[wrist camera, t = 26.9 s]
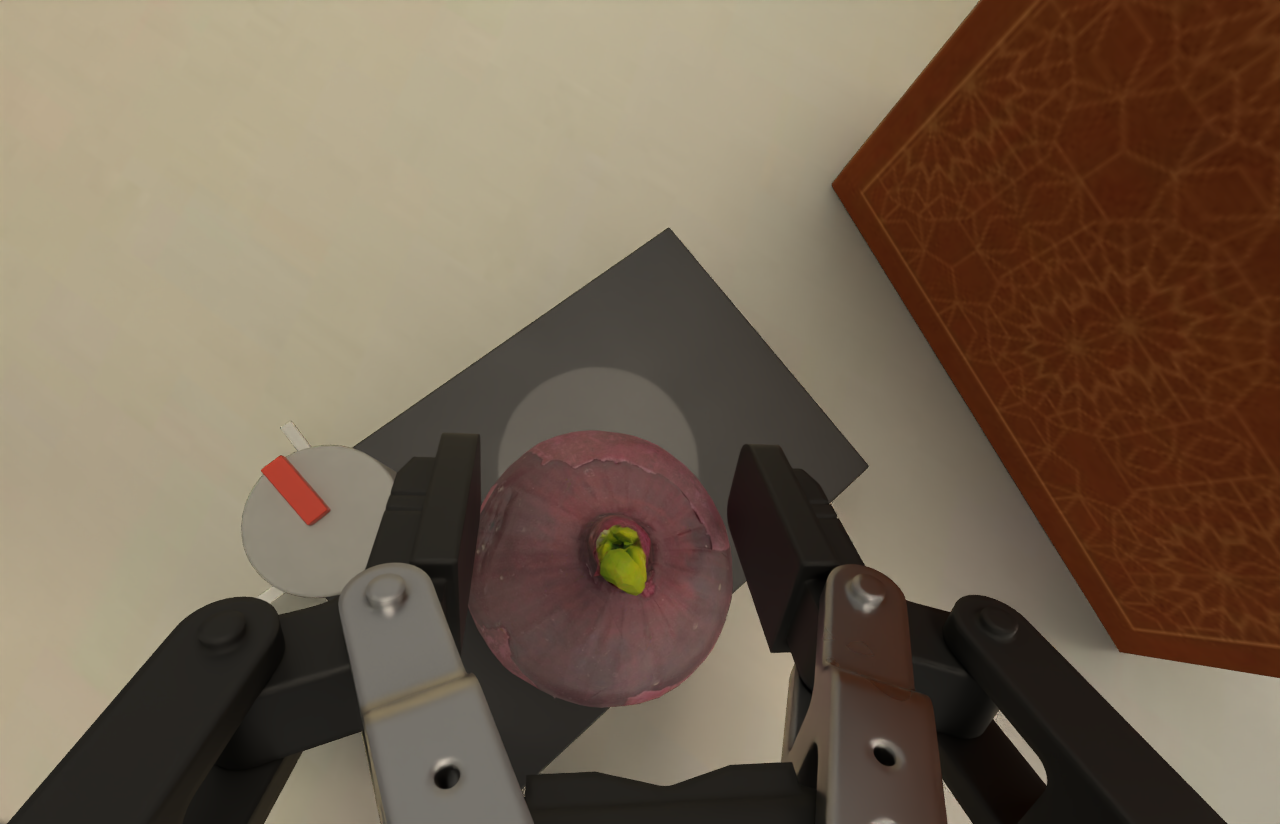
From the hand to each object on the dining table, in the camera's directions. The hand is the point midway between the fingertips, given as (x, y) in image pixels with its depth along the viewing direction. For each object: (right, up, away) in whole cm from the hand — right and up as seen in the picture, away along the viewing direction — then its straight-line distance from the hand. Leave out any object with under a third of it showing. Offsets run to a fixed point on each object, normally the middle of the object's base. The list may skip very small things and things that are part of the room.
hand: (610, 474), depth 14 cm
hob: (-3, -2, +9) cm, 10 cm away
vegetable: (-1, -3, +5) cm, 6 cm away
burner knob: (-8, -2, +6) cm, 10 cm away
